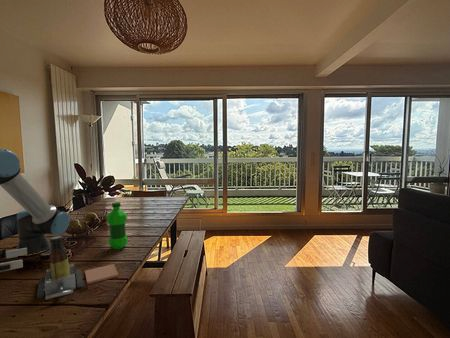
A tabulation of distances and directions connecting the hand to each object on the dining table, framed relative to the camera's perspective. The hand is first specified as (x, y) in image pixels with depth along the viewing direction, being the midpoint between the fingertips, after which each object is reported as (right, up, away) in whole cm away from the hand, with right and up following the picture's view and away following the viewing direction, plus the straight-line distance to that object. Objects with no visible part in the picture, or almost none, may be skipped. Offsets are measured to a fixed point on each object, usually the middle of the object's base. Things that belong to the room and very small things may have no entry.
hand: (24, 256), depth 100 cm
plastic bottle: (+17, -10, +46) cm, 50 cm away
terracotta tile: (+22, -13, +15) cm, 30 cm away
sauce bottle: (+9, -14, +7) cm, 18 cm away
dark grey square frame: (+11, -14, +4) cm, 18 cm away
